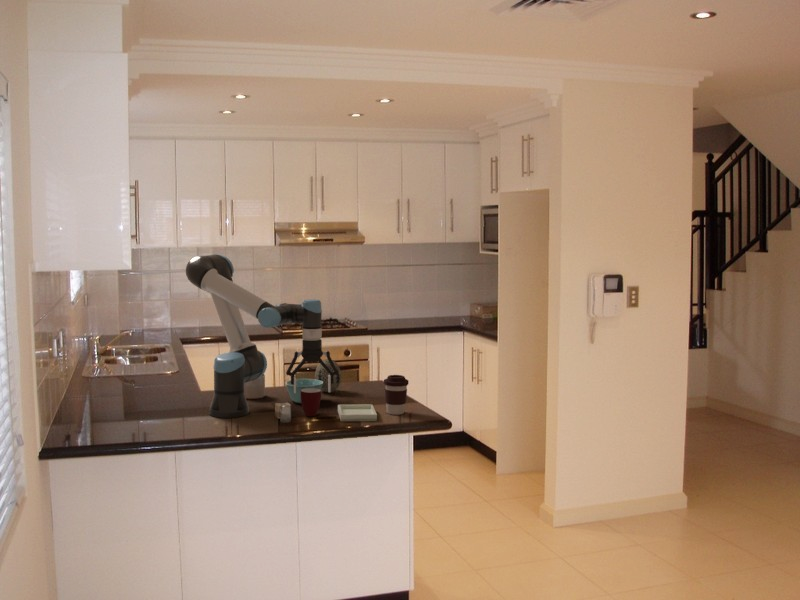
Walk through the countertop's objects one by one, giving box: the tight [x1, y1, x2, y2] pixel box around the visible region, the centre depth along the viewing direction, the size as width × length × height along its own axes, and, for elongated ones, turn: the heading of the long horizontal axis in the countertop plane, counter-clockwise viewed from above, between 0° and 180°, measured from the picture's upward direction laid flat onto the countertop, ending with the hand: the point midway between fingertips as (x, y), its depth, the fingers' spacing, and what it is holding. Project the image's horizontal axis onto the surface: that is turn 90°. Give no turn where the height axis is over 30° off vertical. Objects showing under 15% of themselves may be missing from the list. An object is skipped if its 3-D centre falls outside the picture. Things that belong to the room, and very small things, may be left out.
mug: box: [300, 388, 322, 417], centre depth 325 cm, size 11×8×10 cm
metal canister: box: [279, 404, 292, 424], centre depth 314 cm, size 4×4×6 cm
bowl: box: [285, 378, 323, 404], centre depth 347 cm, size 16×16×8 cm
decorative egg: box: [314, 358, 342, 393], centre depth 365 cm, size 12×12×15 cm
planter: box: [244, 373, 266, 400], centre depth 353 cm, size 11×11×10 cm
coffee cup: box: [383, 374, 409, 416], centre depth 330 cm, size 10×10×15 cm
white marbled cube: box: [274, 402, 291, 419], centre depth 320 cm, size 5×5×5 cm
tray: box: [337, 403, 378, 422], centre depth 325 cm, size 14×17×2 cm
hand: (312, 392), depth 324 cm, fingers open, 13 cm apart
